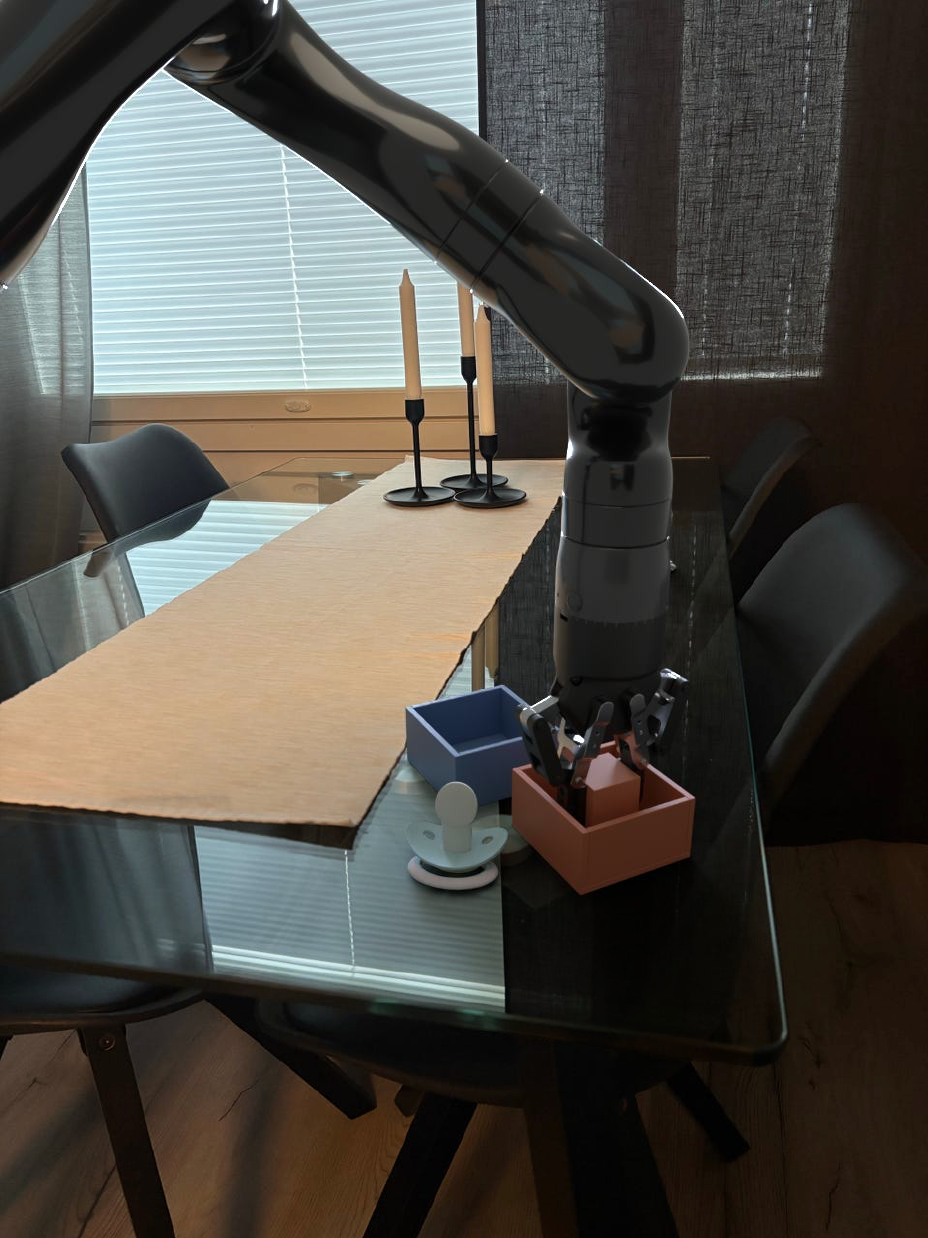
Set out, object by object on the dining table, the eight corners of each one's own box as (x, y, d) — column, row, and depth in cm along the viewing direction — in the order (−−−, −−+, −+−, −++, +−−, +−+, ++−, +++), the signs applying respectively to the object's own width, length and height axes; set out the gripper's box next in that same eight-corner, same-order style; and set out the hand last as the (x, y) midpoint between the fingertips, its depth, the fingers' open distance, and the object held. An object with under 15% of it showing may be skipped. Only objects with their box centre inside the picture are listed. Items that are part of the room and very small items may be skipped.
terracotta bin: (580, 895, 65) (583, 834, 63) (511, 825, 73) (512, 768, 71) (690, 857, 69) (695, 797, 67) (613, 794, 77) (616, 739, 75)
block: (591, 839, 68) (594, 791, 66) (561, 811, 71) (563, 765, 70) (637, 824, 70) (641, 777, 68) (605, 798, 73) (608, 752, 71)
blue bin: (455, 813, 75) (455, 757, 73) (406, 758, 83) (405, 707, 81) (558, 783, 79) (560, 729, 77) (502, 734, 87) (503, 684, 85)
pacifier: (499, 901, 65) (510, 847, 70) (500, 824, 62) (510, 775, 68) (394, 891, 66) (413, 838, 71) (391, 815, 64) (410, 767, 69)
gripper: (661, 566, 70) (646, 770, 76) (491, 597, 64) (489, 815, 70) (731, 597, 64) (708, 816, 70) (550, 635, 58) (543, 871, 64)
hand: (599, 815), depth 70 cm, fingers closed on block, 4 cm apart
